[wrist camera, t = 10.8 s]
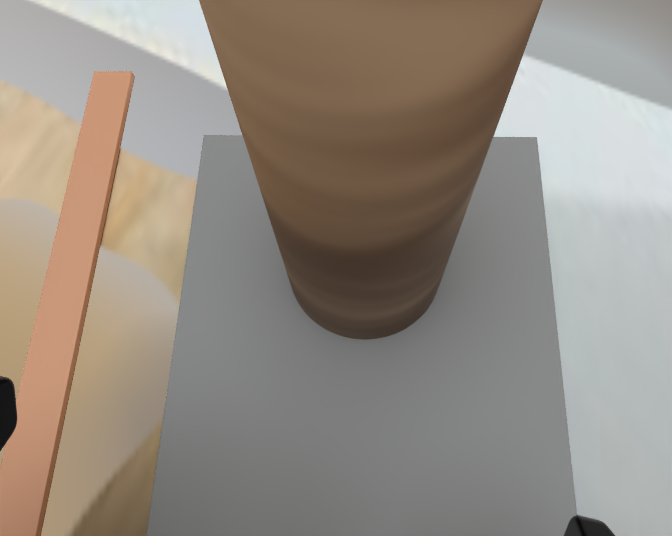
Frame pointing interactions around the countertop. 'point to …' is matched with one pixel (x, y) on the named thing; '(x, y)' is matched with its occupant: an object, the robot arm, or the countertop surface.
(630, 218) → the countertop surface
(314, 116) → the smooth brown cylinder
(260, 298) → the mat
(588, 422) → the countertop surface
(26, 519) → the terracotta line strip
